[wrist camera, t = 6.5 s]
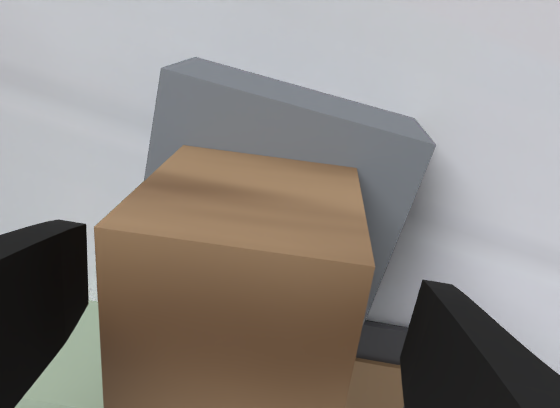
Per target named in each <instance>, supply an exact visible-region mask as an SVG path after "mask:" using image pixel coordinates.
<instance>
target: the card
mask: <svg viewBox="0 0 560 408" xmlns="http://www.w3.org/2000/svg"><path fill="white" fill-rule="evenodd" d="M407 332H408V328H407V327H401V326H395V325H389V324H383V323H377V322H371V321H366V320H365V322H364V324H363V327H362V330H361V335H360V340H359V344H358V349H357V354H356V358H355V363H354V368H353V372H352V377H351V382H350V386H349V391H348V396H347V400H346V405H345V408H405V406H404V400H403V390H402V380H401V367H400V356H401V352H402V349H403V345H404V342H405V338H406V335H407Z"/></svg>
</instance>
